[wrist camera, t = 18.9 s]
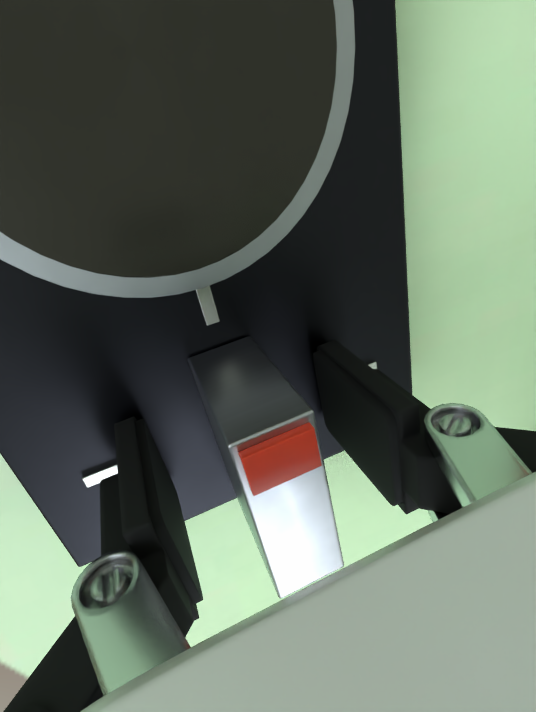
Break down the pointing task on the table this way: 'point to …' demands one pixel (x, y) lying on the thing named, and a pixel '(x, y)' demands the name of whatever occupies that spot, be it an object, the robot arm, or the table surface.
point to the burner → (164, 135)
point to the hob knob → (271, 461)
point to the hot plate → (212, 326)
